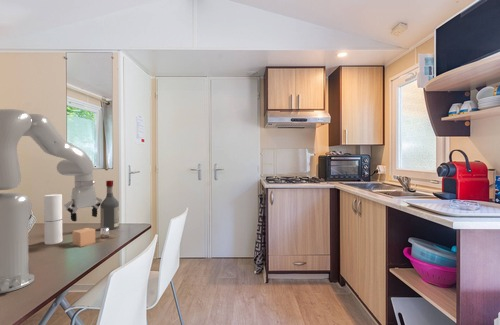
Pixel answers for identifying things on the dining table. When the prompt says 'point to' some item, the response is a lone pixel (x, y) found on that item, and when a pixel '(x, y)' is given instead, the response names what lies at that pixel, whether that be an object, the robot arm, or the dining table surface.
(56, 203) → the cylindrical container
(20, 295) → the dining table surface
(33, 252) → the dining table surface
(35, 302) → the dining table surface
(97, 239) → the board
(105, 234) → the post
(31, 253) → the dining table surface
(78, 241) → the orange block
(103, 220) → the liquor
